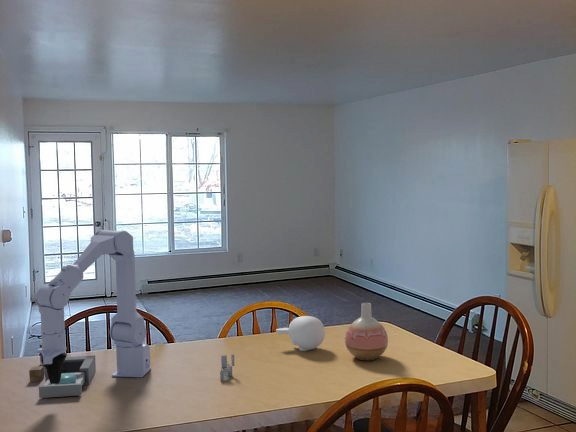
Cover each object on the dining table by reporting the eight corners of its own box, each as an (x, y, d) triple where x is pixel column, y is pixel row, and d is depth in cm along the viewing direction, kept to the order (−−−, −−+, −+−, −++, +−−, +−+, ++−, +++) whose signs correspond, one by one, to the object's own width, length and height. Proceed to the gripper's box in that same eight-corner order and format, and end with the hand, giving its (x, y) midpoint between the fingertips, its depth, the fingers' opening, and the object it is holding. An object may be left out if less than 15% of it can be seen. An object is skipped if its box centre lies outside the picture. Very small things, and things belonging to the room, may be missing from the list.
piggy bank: (329, 355, 204) (296, 349, 215) (333, 319, 206) (301, 315, 217) (304, 352, 196) (271, 346, 206) (309, 315, 198) (277, 311, 209)
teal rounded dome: (71, 386, 168) (71, 380, 168) (51, 386, 168) (51, 380, 168) (79, 379, 174) (78, 373, 173) (59, 379, 174) (59, 373, 174)
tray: (88, 380, 177) (88, 369, 177) (81, 395, 165) (80, 384, 165) (49, 382, 175) (49, 372, 175) (39, 397, 164) (38, 386, 163)
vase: (339, 361, 192) (339, 306, 191) (351, 349, 205) (351, 297, 203) (382, 366, 187) (382, 309, 185) (392, 353, 200) (392, 300, 198)
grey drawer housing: (95, 370, 186) (95, 355, 186) (89, 384, 174) (88, 368, 174) (55, 373, 184) (54, 357, 184) (45, 387, 173) (45, 370, 172)
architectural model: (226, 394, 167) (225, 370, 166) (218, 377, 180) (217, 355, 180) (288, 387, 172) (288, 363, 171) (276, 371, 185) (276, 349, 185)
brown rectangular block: (44, 377, 181) (43, 366, 180) (41, 381, 178) (40, 369, 177) (32, 378, 180) (32, 366, 180) (29, 382, 177) (29, 370, 177)
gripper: (43, 325, 165) (45, 374, 166) (29, 340, 151) (31, 393, 152) (71, 324, 166) (72, 373, 167) (59, 338, 152) (61, 392, 153)
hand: (55, 382), depth 159 cm, fingers closed
